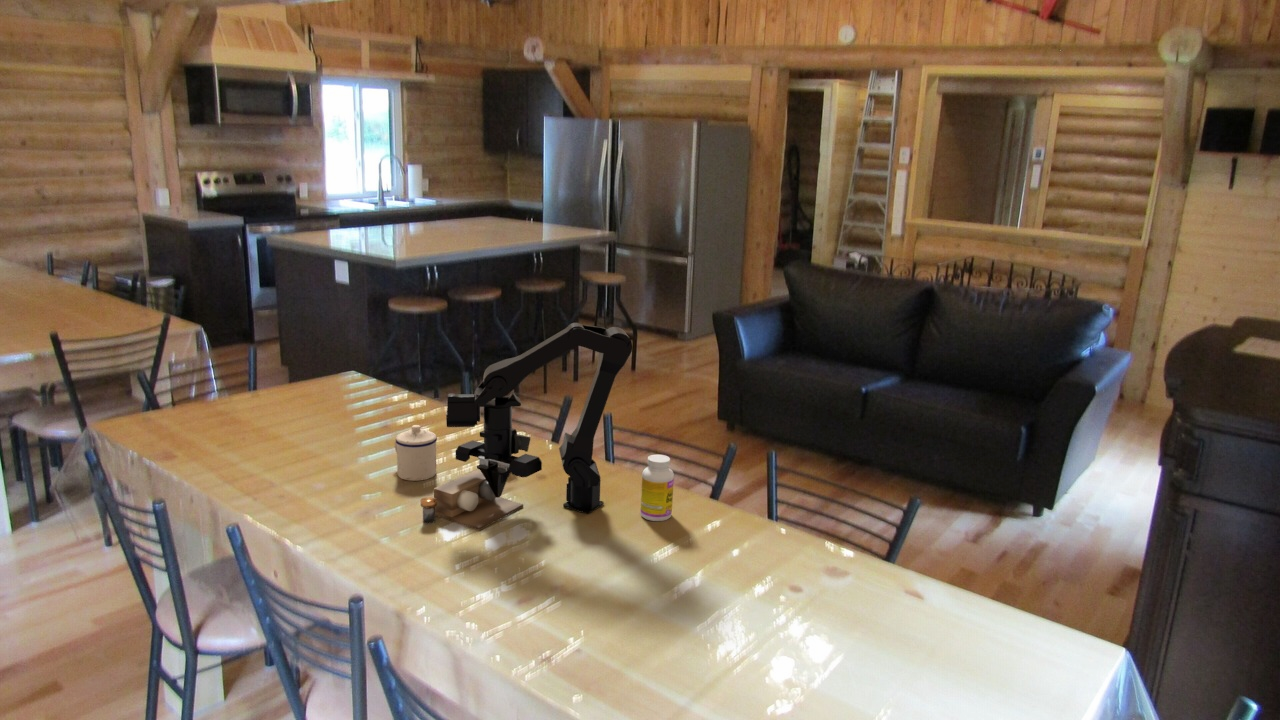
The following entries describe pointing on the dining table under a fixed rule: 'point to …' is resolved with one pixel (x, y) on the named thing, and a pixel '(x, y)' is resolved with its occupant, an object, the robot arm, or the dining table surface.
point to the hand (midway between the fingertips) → (498, 496)
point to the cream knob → (467, 500)
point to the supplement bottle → (657, 489)
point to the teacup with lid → (416, 454)
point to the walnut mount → (484, 510)
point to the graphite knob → (486, 491)
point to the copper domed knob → (428, 509)
